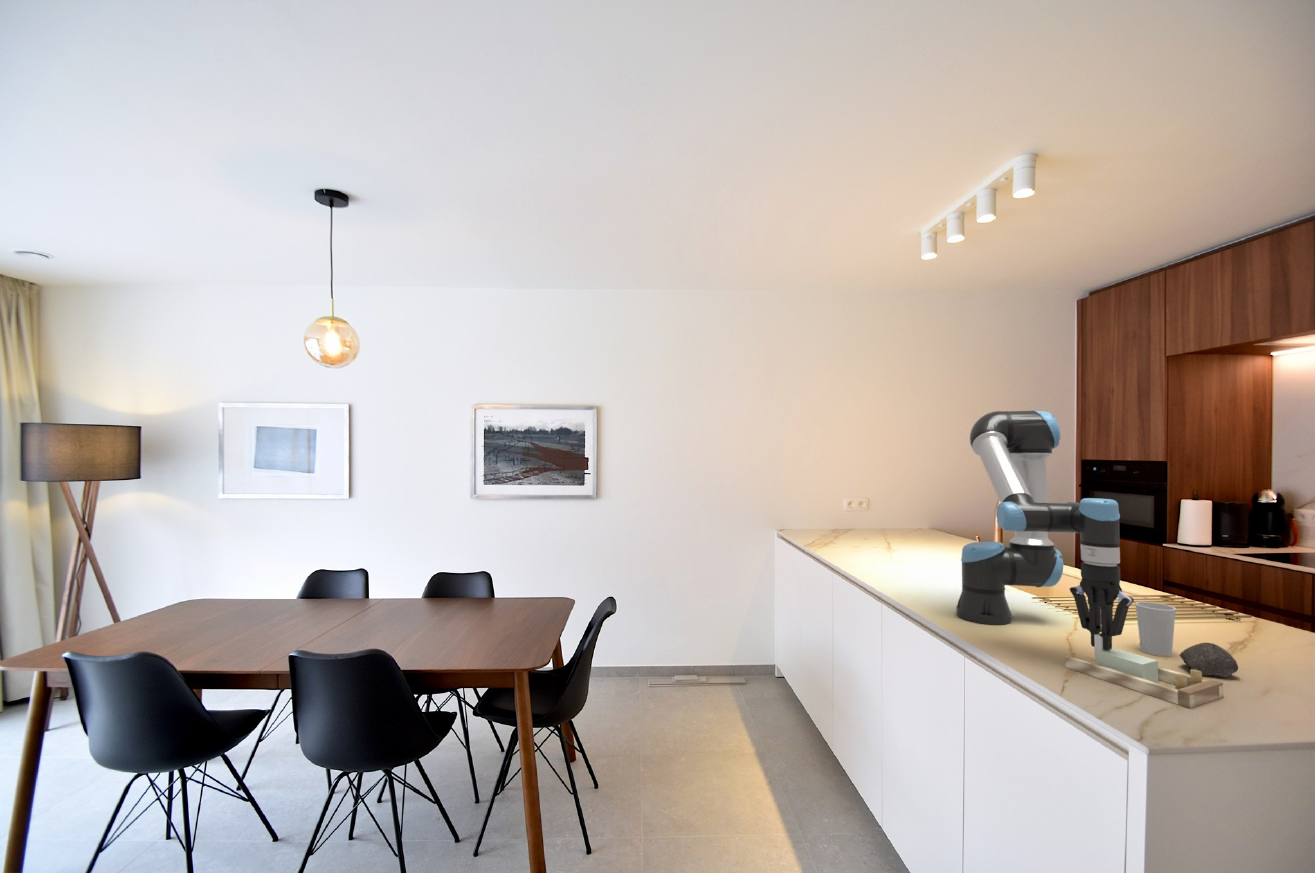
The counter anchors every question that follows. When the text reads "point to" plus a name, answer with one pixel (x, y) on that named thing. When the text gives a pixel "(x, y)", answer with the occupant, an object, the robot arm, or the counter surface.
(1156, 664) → the block
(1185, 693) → the wooden u-shaped frame
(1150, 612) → the cup
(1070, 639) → the counter surface
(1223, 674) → the stone
